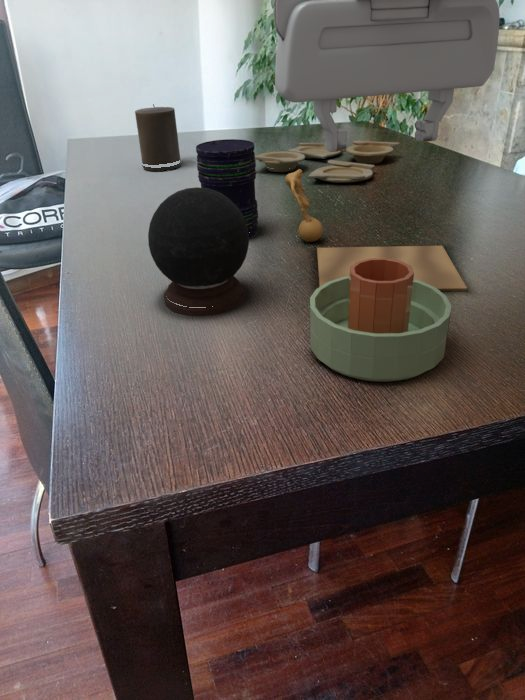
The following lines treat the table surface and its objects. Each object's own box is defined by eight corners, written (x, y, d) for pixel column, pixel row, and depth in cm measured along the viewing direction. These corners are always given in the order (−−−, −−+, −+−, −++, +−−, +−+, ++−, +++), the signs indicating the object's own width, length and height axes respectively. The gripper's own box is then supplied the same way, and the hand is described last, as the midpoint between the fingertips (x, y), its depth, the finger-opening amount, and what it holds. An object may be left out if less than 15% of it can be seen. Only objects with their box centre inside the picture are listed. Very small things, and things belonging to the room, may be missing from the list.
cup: (400, 328, 68) (407, 257, 63) (409, 357, 62) (418, 282, 58) (345, 328, 68) (348, 258, 64) (349, 357, 63) (352, 283, 58)
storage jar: (270, 231, 101) (267, 143, 93) (229, 246, 95) (222, 154, 88) (233, 219, 107) (227, 136, 100) (192, 233, 102) (182, 146, 94)
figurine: (321, 250, 92) (322, 175, 86) (284, 250, 93) (283, 176, 87) (323, 232, 99) (324, 162, 93) (288, 232, 100) (287, 163, 94)
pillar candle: (164, 173, 140) (156, 107, 132) (135, 169, 144) (125, 106, 137) (189, 164, 147) (182, 101, 139) (160, 161, 151) (152, 100, 144)
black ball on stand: (137, 300, 79) (119, 193, 71) (206, 270, 87) (197, 170, 79) (202, 329, 71) (189, 212, 64) (271, 292, 80) (267, 185, 72)
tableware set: (356, 190, 121) (357, 170, 119) (239, 177, 134) (238, 159, 132) (407, 154, 146) (409, 138, 144) (305, 146, 159) (305, 131, 157)
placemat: (442, 247, 91) (442, 245, 91) (466, 290, 78) (467, 288, 77) (317, 249, 93) (317, 247, 92) (319, 292, 79) (319, 289, 79)
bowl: (429, 316, 72) (435, 272, 69) (458, 385, 59) (466, 335, 56) (309, 317, 73) (309, 274, 70) (310, 385, 60) (311, 336, 57)
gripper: (286, -27, 42) (288, 164, 49) (521, -35, 47) (492, 141, 54) (261, -22, 47) (267, 150, 55) (475, -30, 52) (455, 130, 59)
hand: (381, 145), depth 54 cm, fingers open, 8 cm apart
